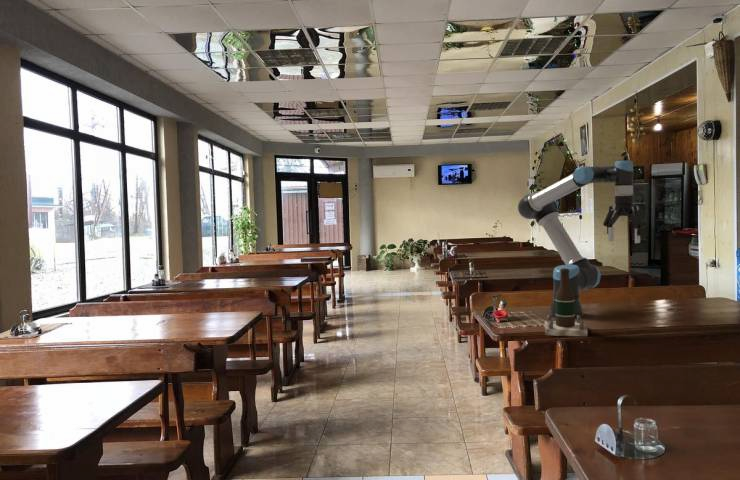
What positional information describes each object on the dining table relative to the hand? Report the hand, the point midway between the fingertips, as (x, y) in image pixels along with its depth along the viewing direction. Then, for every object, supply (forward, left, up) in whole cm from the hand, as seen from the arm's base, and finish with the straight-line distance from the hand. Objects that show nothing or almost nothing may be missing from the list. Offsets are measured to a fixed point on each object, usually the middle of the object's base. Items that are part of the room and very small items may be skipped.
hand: (623, 242), depth 264 cm
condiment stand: (+2, -40, -35) cm, 53 cm away
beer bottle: (+2, -40, -32) cm, 52 cm away
